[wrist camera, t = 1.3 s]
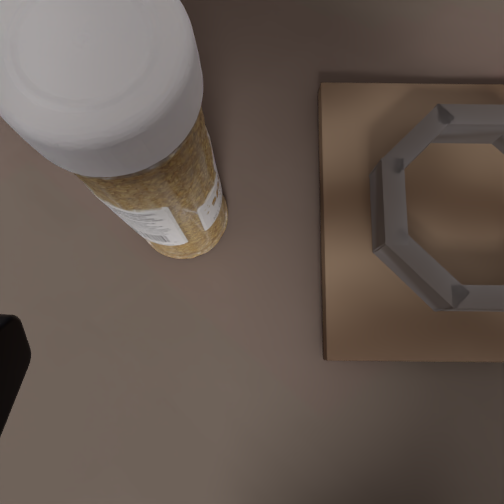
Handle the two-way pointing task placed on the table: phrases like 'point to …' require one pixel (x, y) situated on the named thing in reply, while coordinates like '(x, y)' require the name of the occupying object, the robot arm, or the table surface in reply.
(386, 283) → the collar plate
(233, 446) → the table surface
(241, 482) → the table surface
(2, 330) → the robot arm
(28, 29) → the sprinkles bottle
